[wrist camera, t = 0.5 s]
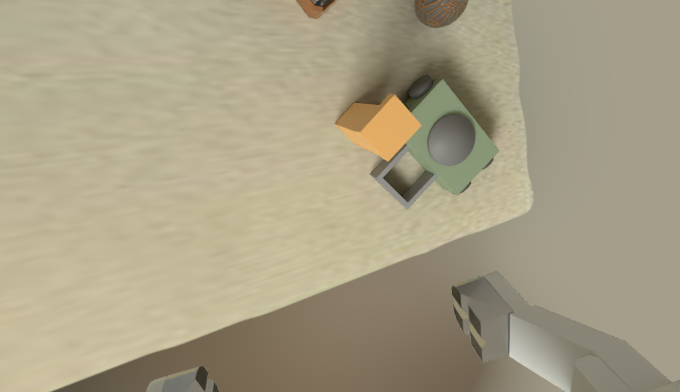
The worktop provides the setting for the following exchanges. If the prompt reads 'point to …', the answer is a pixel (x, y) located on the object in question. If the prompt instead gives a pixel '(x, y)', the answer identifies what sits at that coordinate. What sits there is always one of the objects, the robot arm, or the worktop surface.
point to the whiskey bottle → (315, 7)
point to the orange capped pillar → (379, 126)
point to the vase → (439, 11)
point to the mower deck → (440, 142)
